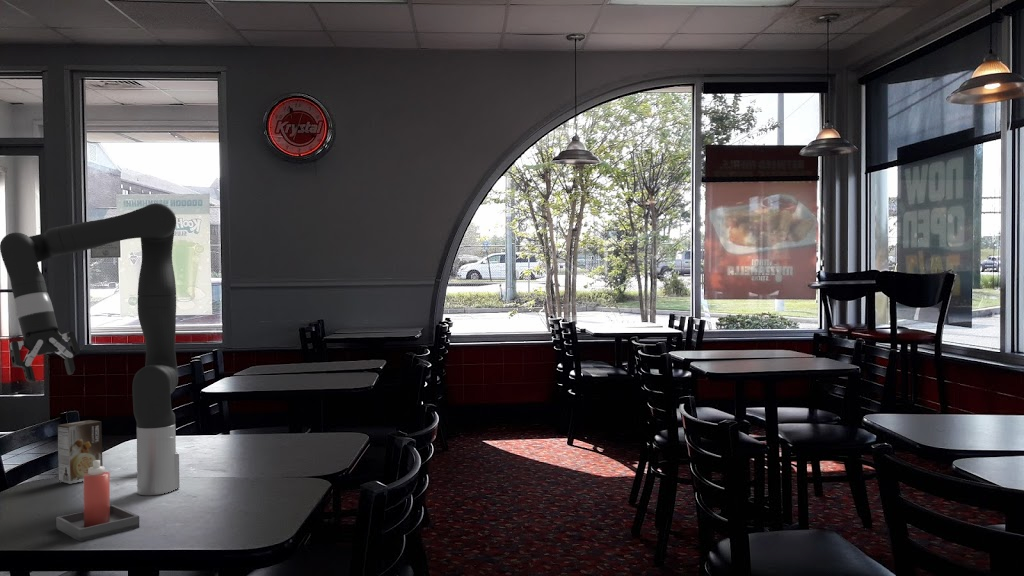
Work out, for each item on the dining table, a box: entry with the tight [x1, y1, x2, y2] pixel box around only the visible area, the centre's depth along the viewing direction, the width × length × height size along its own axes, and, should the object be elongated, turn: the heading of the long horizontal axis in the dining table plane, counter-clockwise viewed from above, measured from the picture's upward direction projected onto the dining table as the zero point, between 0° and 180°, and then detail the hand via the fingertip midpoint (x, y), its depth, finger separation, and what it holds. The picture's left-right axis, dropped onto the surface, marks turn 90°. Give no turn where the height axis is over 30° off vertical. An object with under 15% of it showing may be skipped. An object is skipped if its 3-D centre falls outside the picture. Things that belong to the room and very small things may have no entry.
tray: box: [55, 504, 140, 543], centre depth 164 cm, size 12×14×2 cm
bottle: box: [83, 460, 111, 527], centre depth 164 cm, size 5×5×14 cm
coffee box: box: [57, 419, 104, 481], centre depth 208 cm, size 9×6×16 cm
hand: (52, 378), depth 180 cm, fingers open, 8 cm apart
